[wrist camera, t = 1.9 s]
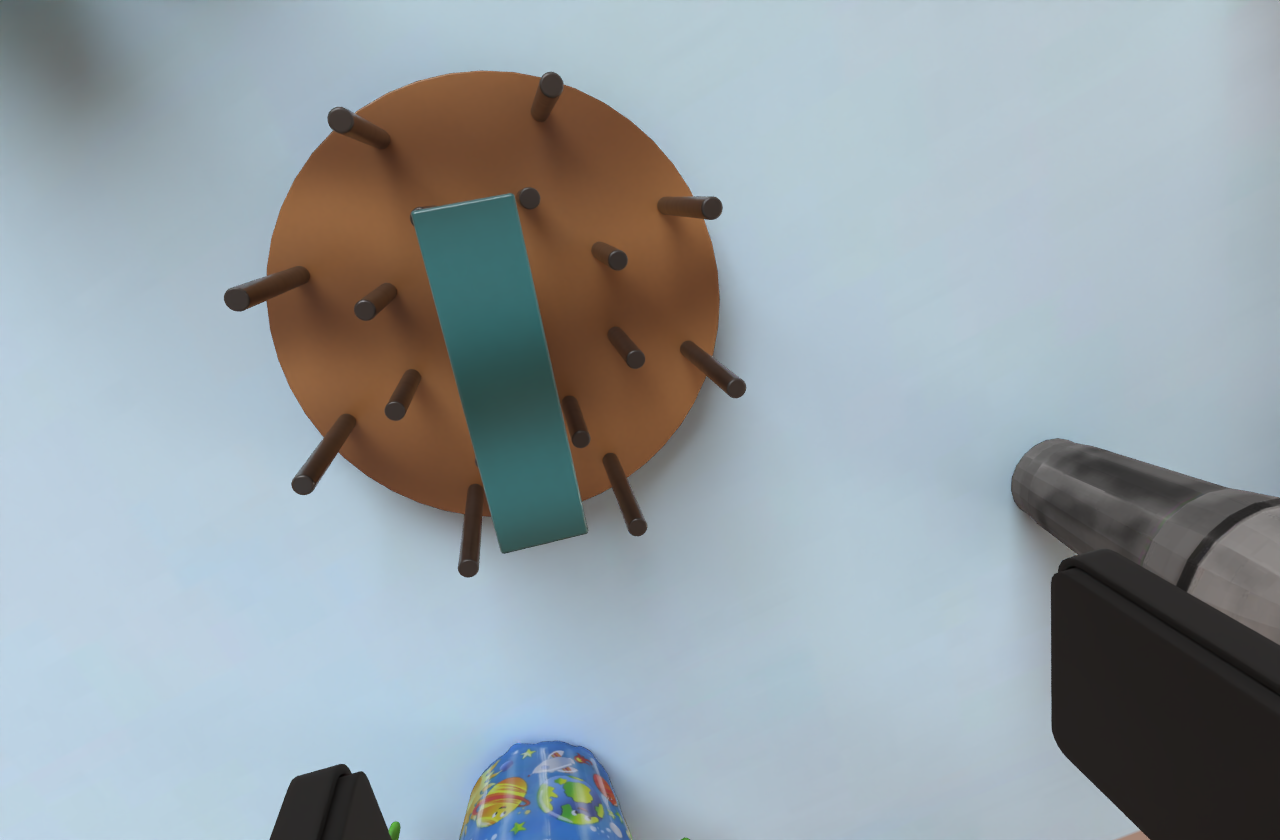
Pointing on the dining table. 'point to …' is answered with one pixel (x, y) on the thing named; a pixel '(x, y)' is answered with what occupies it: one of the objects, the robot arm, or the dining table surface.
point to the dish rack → (493, 302)
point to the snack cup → (542, 798)
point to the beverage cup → (1160, 525)
